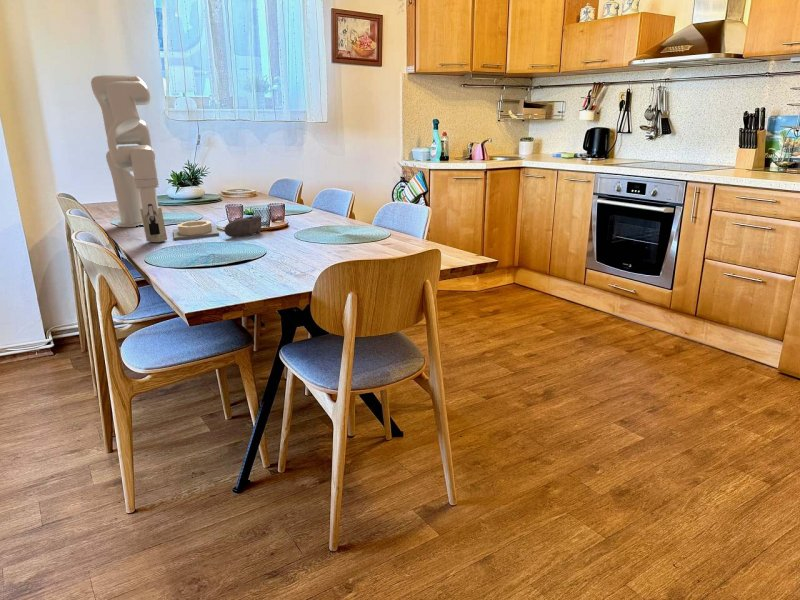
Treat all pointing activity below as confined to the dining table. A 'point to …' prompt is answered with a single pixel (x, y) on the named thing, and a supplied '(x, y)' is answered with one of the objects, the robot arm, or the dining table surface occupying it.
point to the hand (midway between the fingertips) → (155, 231)
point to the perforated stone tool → (244, 227)
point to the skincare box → (160, 221)
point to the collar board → (195, 230)
